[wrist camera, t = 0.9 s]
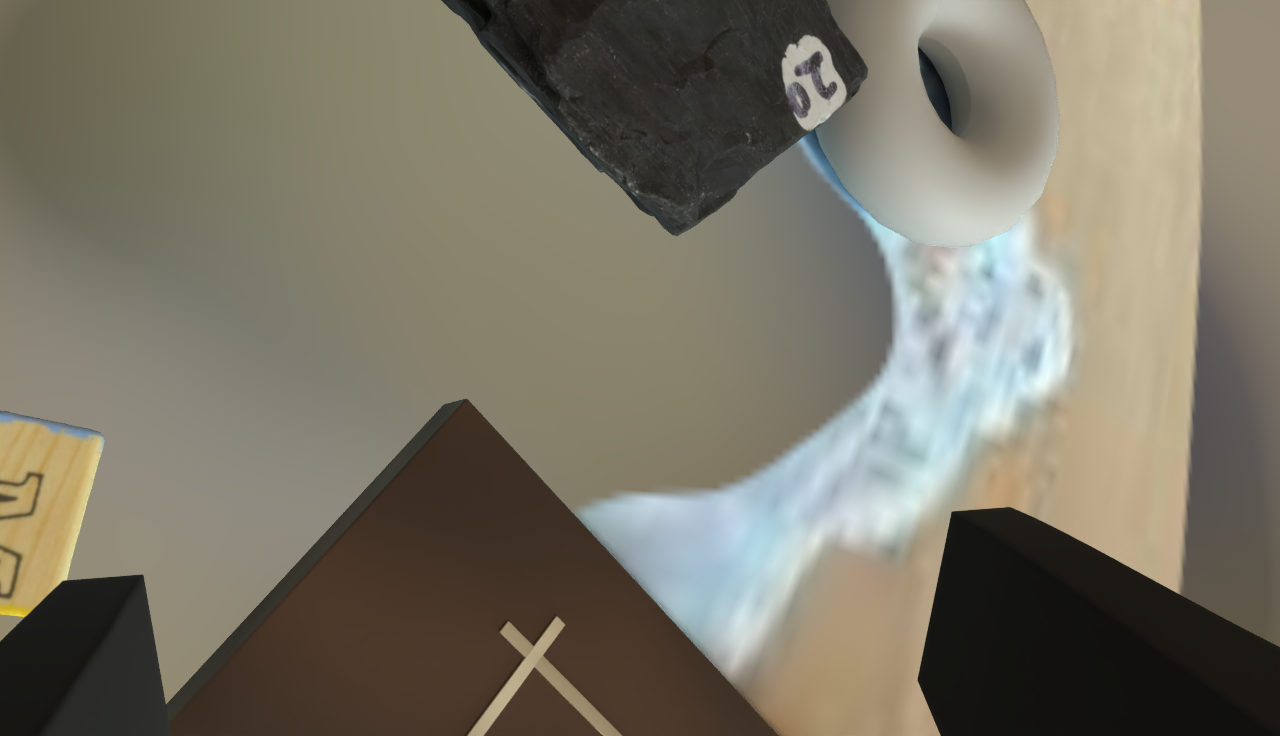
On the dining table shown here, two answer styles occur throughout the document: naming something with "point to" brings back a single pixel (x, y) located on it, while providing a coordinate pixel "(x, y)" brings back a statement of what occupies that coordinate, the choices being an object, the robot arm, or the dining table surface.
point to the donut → (916, 137)
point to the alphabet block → (41, 504)
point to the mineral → (674, 86)
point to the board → (459, 620)
